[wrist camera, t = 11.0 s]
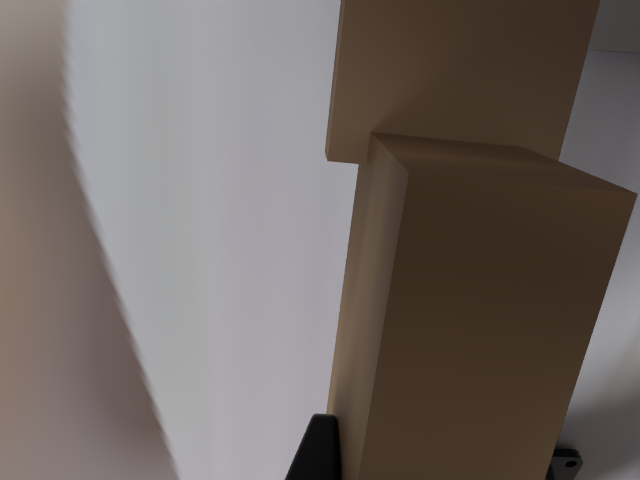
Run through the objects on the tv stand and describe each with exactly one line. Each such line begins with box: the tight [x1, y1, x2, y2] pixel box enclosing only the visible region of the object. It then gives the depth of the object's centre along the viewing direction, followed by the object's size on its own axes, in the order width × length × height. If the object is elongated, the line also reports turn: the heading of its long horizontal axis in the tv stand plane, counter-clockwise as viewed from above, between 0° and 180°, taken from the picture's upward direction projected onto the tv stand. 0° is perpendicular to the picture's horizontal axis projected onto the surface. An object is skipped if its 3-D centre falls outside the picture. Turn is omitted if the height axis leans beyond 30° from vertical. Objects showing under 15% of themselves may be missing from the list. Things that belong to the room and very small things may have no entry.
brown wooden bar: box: [325, 0, 637, 480], centre depth 8 cm, size 18×4×4 cm, turn 174°
